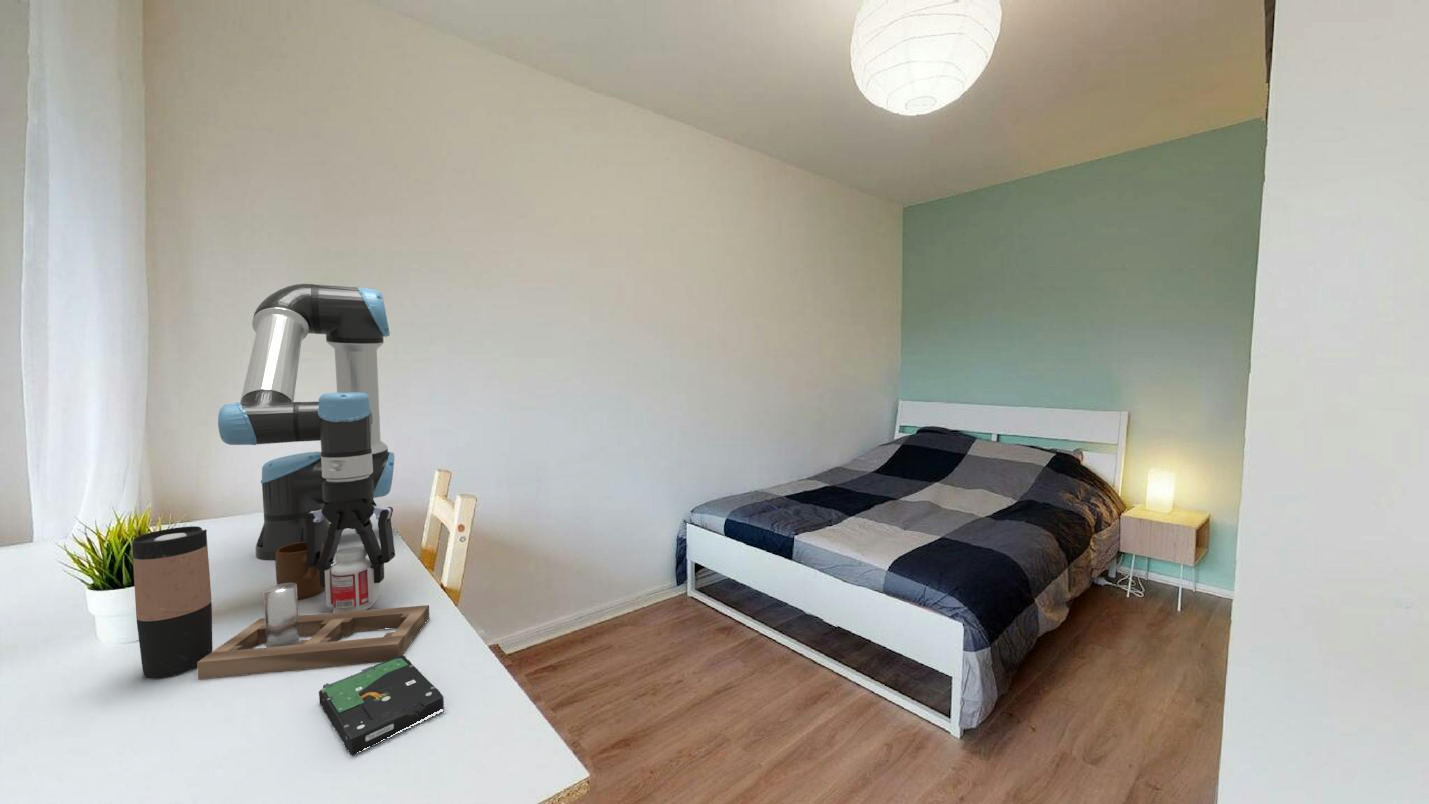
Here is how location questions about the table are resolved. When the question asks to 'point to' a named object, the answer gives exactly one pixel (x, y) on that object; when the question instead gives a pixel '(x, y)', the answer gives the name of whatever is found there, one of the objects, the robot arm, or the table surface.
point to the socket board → (318, 643)
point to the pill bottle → (350, 580)
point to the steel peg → (281, 615)
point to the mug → (297, 569)
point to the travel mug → (172, 600)
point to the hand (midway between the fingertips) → (353, 600)
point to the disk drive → (379, 702)
